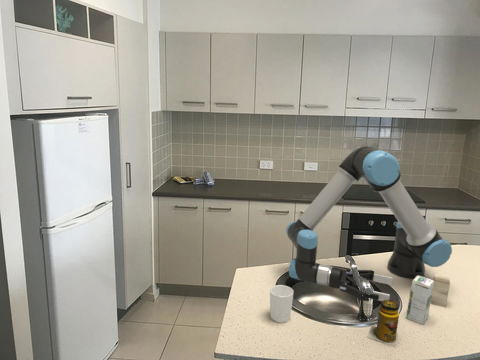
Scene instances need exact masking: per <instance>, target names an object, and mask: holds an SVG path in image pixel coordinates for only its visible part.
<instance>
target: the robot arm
mask: <svg viewBox="0 0 480 360" xmlns="http://www.w3.org/2000/svg"><path fill="white" fill-rule="evenodd" d="M400 169H401V167H400V163H399V161H398V160H397V158H396V157H395V156H394V155H392V154H391V153H389V152H387V151H385V150H381V149H377V148H374V147H372V146H367V145H365V146H360V147H358V148H356V149H354V150H353V151H352V152H350V153H349V154H348V155H347V156H346V157H345V158H344V159H343V161H342V162H341V163H340V164H339V165H338V167H337V172H336V173H335V174H334V175H333V177H332V178H331V179H330V180H329V181H328V183H327V184H326V185H325V186H324V187H323V189H322V190H320V192H319V194H318V195H317V196H316V197H315V198H314V200H313V201H311V203H310V205H309V206H308V207H307V208H306V209H305V211H304V212H303V213H302V214H301V216H300V217H298V219H297V220H296V221H291V222H290V223H289V224H287V226H286V229H285V230H286V235H287V237H288V239H289V240H290V242H291V243H292V244H293V246H294V248H295V249H296V251H295V252H296V255H295V258H292V259H291V260H290V263H289V267H288V275H289V277H290V278H292V279H295V280H298V281H302V282H303V281H304V282H309V283H312V284H317V285H320V286H324V287H328V286H329V287H330V288H334V289H339V290H340V291H341V292H343V293H344V292H345V293H347V294H348V295H350V296H353V297H355V298H357V299H359V300H361V301H363V302H368V301H369V299H371V300H375V301H379V302H382V301H383V300H390V295H391V294H389V293H385V292H379V291H376V290H372V291H373V294H370V295H368V294H366V293H364V292H362V291H360V290H359V288H358V285H359V284H358V283H357V284H358V285H357V284H356V281H355V280H354V278H353V274H352V272H351V270H352V269H350V268H347V269H346V272H344V271H343V268H341V267H337V266H331V265H328V264H322V263H318V262H316V261H317V253H318V250H317V249H318V244H319V241H318V240H319V238H318V237H319V236H318V234H317V232H316V231H314V230H315V228H316V227H317V226H318V225H319V224H320V223H321V222H322V220H323V219H324V218H325V217H326V216H327V214H328V213H329V212H330V211H331V210H332V209H333V207H334V206H335V205H336V204H337V202H338V201H339V200H340V199H341V198H342V197H343V195H345V193H346V192H347V191H348V190H349V188H350V187H351V186H353V184H354V183H355V184H356V183H358V182H359V181H360V180H361V179H362V178H364V181H365V182H366V183H367V184H368V185H369V187H370V189H371V190H372V192H374V193H379V195H380V196H381V197H382V199H383V201H384V202H385V204H386V205H387V207H388V208H389V209H390V211H391V213H392V214H393V215H394V217H395V219H396V220H397V224H396V227H395V228H396V230H395V239H394V248H393V251H392V254H391V256H390V257H389V260H388V261H387V270H388V271H389V272H390V273H392V274H394V275H395V276H396V275H397V276H399V277H402V278H407V279H415V278H416V277H417V276H422V277H425V274H426V273H425V272H426V267H425V265H426V266H429V267H431V268H438V267H442V266H443V265H445V264H446V263H447V262H448V261H449V260H450V258H451V255H452V253H453V249H452V245H451V243H450V242H449V241H447V239H444V238H443V237H442V236H441V235H440V233H439V231H438V230H437V229H436V227H435V226H434V225H432V224H429V223H428V222H427V220H426V219H425V218H424V216H423V214H422V213H421V211H420V210H419V208H418V206H417V204H415V201H414V200H413V199H412V197H411V195H410V194H409V192H408V191H407V189H406V187H405V186H404V185H403V182H402V181H401V179H402V174H401V172H400ZM357 270H358V272H359V275H360V276H362V277H363V278H366V279H367V280H366V281H373V282H376V283H380V284H384V285H388V286H389V285H390V286H392V285H393V277H392V276H387V275H382V274H377V273H375V270H372V269H357ZM362 295H363V296H362Z"/></svg>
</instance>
